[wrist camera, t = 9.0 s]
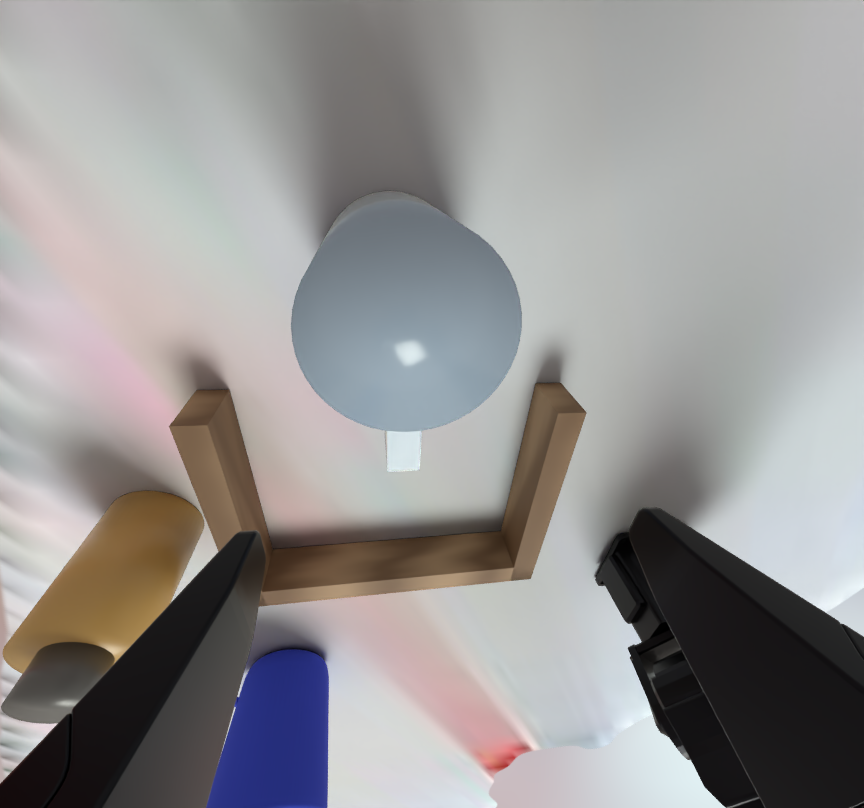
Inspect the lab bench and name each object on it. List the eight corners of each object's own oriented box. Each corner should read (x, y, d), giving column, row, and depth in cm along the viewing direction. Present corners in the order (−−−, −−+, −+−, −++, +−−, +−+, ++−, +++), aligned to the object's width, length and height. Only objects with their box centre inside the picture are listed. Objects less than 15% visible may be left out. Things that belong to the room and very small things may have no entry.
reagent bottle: (190, 488, 21) (90, 671, 14) (213, 543, 24) (139, 723, 16) (93, 493, 21) (-71, 690, 13) (127, 550, 23) (8, 741, 16)
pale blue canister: (466, 195, 15) (543, 219, 9) (449, 380, 20) (490, 489, 13) (315, 186, 14) (271, 205, 8) (333, 383, 19) (316, 500, 12)
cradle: (560, 382, 21) (586, 412, 19) (516, 542, 29) (530, 578, 26) (196, 390, 18) (169, 426, 16) (253, 565, 26) (241, 608, 23)
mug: (177, 664, 31) (108, 846, 23) (318, 630, 31) (300, 798, 23) (226, 700, 36) (183, 863, 28) (348, 670, 36) (342, 823, 28)
